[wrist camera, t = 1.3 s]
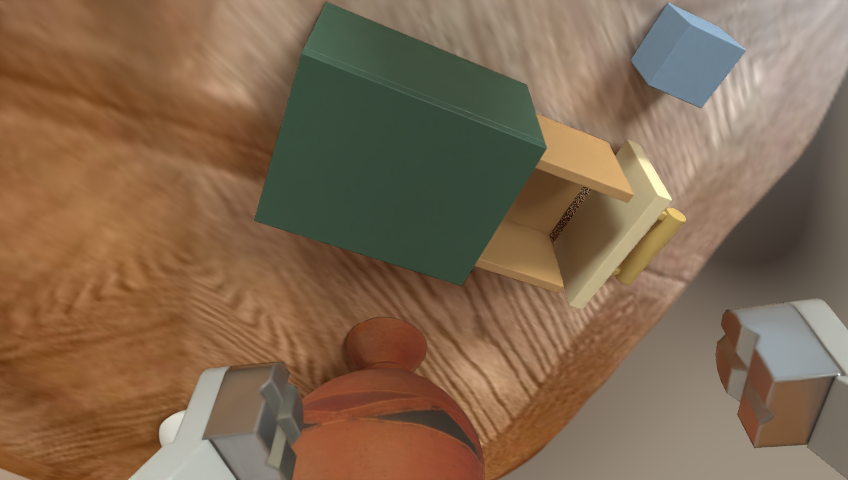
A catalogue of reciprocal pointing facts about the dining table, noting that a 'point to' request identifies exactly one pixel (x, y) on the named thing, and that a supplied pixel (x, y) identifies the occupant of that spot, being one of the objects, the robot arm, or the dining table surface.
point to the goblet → (385, 416)
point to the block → (686, 56)
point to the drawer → (583, 217)
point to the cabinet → (398, 149)
